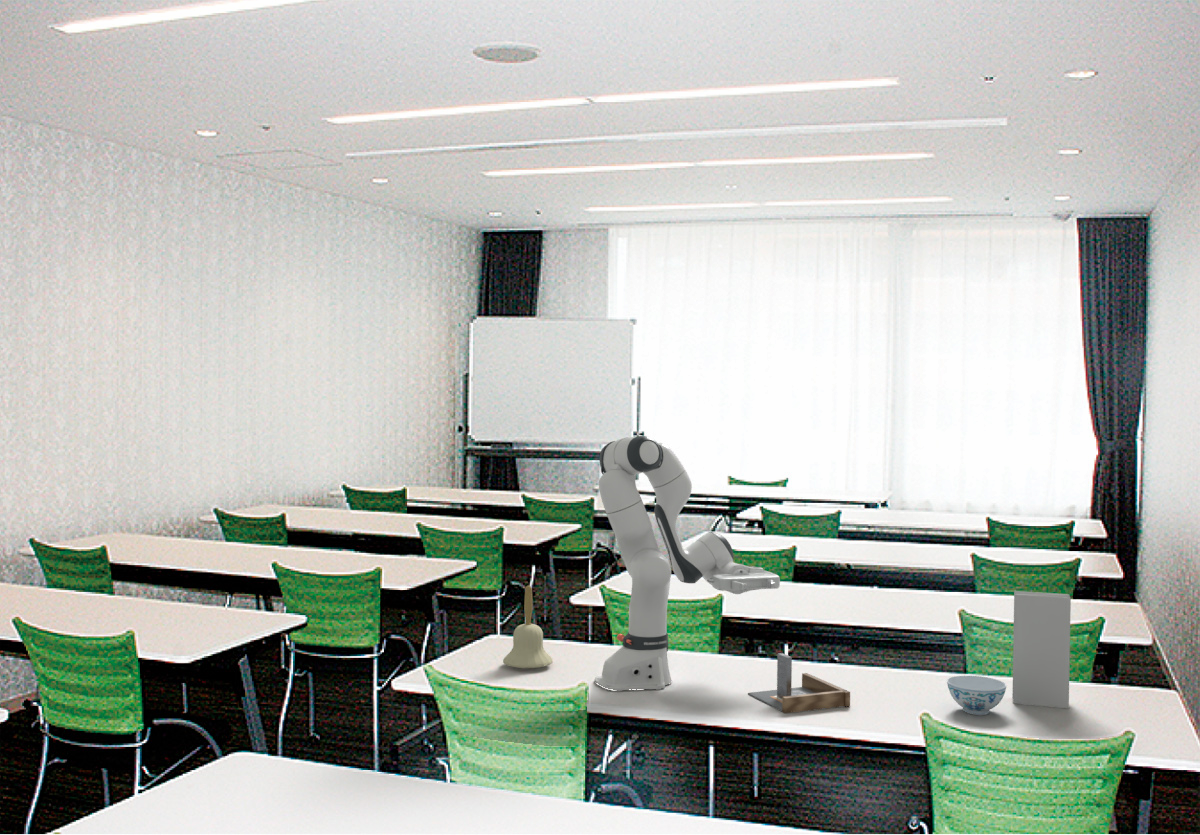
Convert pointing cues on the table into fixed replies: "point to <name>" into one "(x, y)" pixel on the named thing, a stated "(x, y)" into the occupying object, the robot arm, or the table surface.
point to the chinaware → (976, 693)
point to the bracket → (785, 676)
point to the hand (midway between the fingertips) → (759, 586)
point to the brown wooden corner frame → (816, 696)
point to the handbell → (528, 642)
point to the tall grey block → (1041, 649)
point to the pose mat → (775, 696)
